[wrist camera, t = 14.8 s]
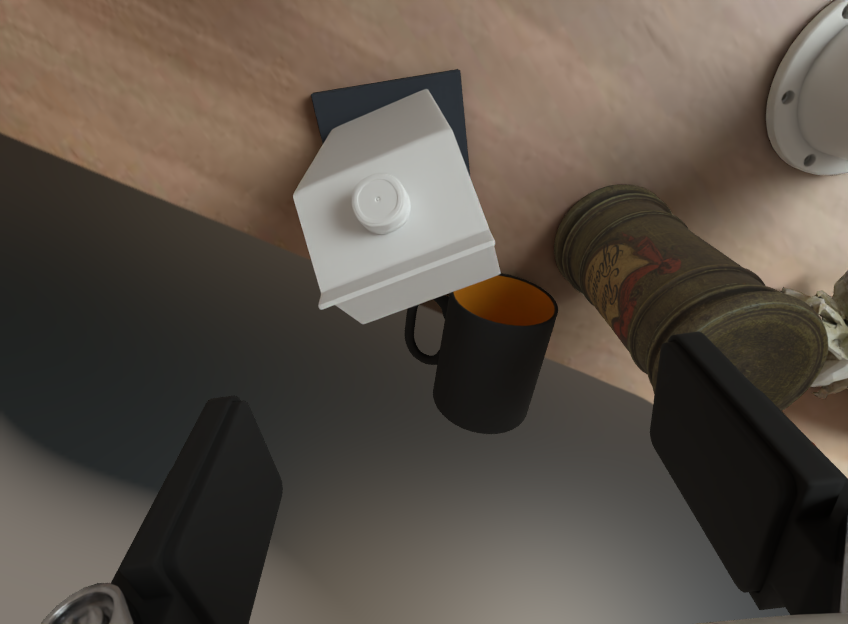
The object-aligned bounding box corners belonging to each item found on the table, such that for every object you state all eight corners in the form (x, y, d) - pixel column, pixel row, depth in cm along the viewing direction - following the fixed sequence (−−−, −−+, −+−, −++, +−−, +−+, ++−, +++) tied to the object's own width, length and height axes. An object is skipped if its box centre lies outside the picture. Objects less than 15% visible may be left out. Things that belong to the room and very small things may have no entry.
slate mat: (458, 69, 33) (460, 70, 32) (471, 210, 38) (473, 214, 37) (312, 92, 33) (310, 94, 32) (345, 230, 38) (344, 235, 37)
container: (665, 172, 37) (862, 275, 21) (658, 275, 42) (817, 422, 26) (548, 195, 37) (660, 314, 22) (555, 295, 42) (650, 452, 26)
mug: (420, 346, 48) (433, 250, 43) (537, 390, 44) (568, 292, 39) (377, 392, 41) (387, 286, 36) (511, 449, 38) (544, 340, 32)
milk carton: (461, 185, 36) (520, 319, 19) (373, 220, 37) (357, 375, 20) (427, 87, 32) (464, 147, 16) (330, 128, 33) (270, 226, 17)
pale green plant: (696, 310, 46) (889, 224, 35) (781, 348, 54) (963, 287, 42) (723, 396, 42) (952, 328, 31) (811, 425, 49) (1023, 379, 38)
